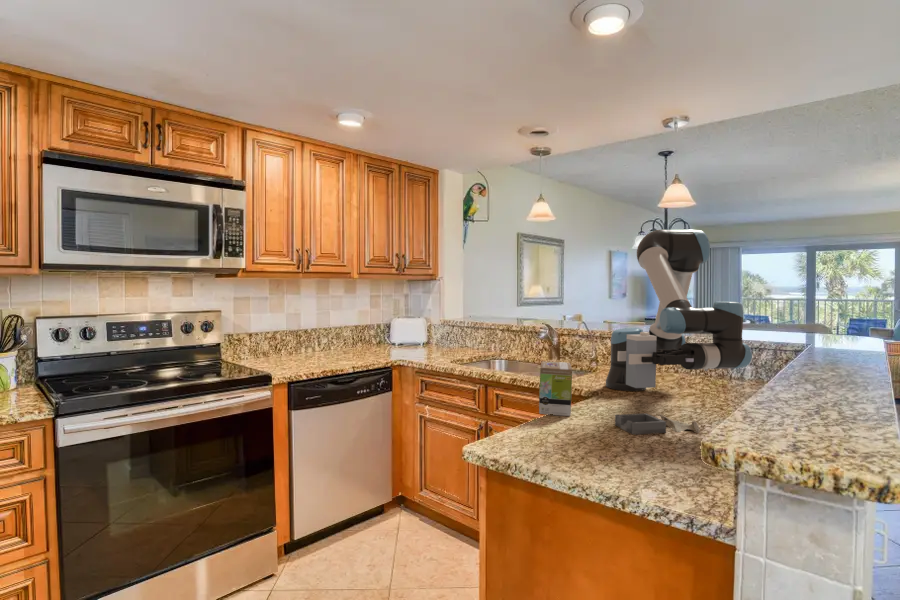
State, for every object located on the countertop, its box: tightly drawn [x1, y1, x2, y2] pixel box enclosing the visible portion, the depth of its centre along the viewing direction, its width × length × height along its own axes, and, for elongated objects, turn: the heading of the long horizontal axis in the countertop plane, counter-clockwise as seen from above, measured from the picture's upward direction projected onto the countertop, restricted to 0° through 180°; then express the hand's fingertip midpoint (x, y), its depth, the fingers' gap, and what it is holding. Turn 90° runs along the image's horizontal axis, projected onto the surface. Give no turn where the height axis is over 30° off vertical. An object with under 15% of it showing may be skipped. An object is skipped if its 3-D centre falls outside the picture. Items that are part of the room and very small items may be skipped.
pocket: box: [614, 413, 667, 435], centre depth 136 cm, size 9×10×3 cm
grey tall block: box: [626, 331, 657, 389], centre depth 136 cm, size 5×6×15 cm
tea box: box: [538, 361, 573, 417], centre depth 157 cm, size 15×10×15 cm
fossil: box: [657, 413, 700, 434], centre depth 138 cm, size 7×11×4 cm, turn 12°
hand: (623, 357), depth 135 cm, fingers closed on grey tall block, 5 cm apart
